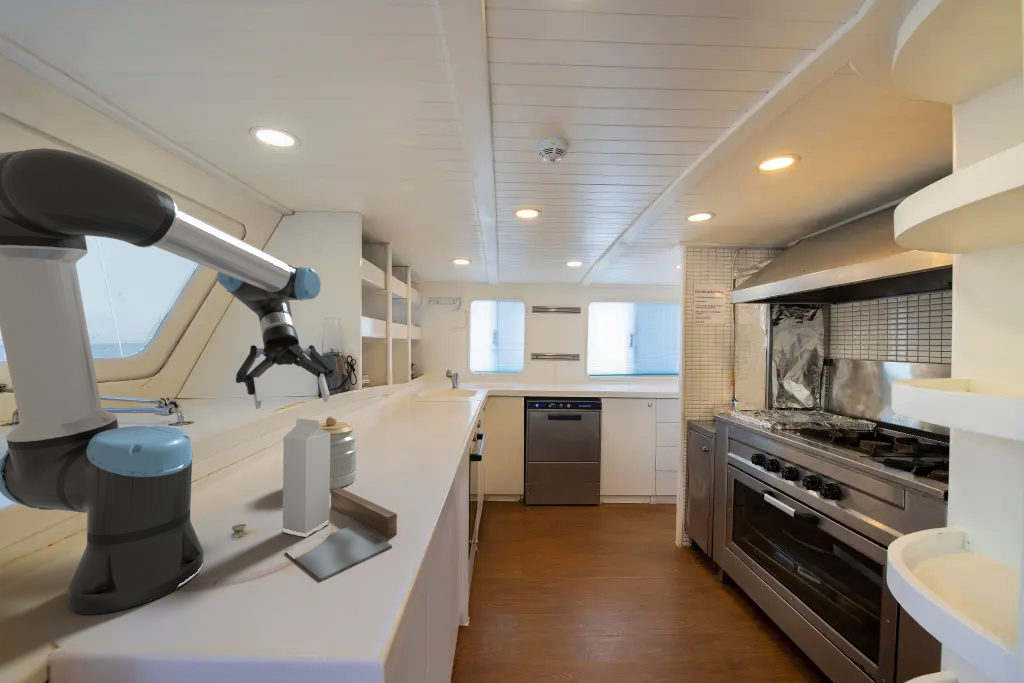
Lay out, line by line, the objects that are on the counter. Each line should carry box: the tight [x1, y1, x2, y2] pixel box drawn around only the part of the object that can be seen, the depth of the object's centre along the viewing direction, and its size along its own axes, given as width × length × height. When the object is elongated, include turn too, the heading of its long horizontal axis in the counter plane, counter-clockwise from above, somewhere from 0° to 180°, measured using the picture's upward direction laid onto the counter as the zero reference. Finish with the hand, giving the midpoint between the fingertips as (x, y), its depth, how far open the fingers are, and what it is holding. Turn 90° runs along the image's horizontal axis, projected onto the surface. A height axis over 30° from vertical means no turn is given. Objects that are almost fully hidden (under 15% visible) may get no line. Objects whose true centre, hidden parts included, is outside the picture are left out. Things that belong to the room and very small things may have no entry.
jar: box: [319, 416, 358, 490], centre depth 104 cm, size 13×13×18 cm
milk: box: [282, 417, 331, 534], centre depth 78 cm, size 6×6×22 cm
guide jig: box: [294, 487, 398, 582], centre depth 75 cm, size 16×26×4 cm, turn 52°
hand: (294, 401), depth 87 cm, fingers open, 13 cm apart
